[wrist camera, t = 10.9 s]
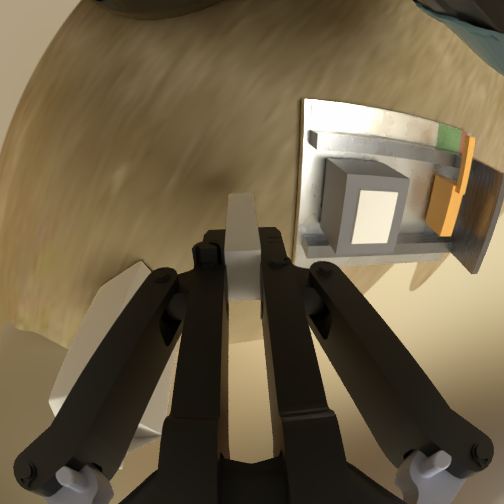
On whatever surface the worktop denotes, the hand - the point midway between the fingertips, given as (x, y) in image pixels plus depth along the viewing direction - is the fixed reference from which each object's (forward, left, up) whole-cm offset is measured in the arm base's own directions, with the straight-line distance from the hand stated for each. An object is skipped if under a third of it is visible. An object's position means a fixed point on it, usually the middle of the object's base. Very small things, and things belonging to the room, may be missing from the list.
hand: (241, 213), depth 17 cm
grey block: (0, +9, -4) cm, 10 cm away
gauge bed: (0, +14, -6) cm, 15 cm away
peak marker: (-2, +19, -4) cm, 19 cm away
